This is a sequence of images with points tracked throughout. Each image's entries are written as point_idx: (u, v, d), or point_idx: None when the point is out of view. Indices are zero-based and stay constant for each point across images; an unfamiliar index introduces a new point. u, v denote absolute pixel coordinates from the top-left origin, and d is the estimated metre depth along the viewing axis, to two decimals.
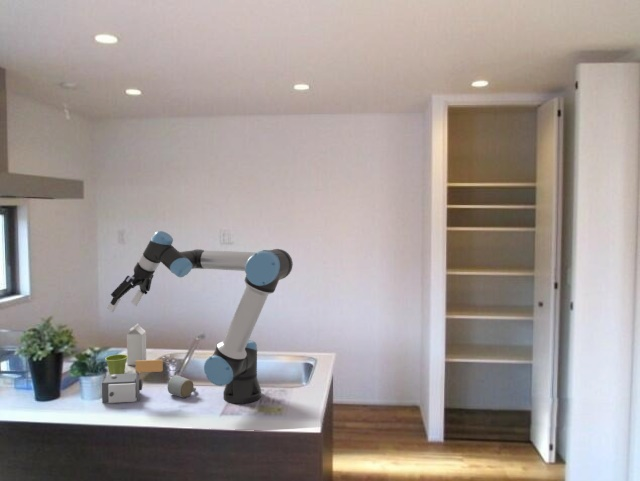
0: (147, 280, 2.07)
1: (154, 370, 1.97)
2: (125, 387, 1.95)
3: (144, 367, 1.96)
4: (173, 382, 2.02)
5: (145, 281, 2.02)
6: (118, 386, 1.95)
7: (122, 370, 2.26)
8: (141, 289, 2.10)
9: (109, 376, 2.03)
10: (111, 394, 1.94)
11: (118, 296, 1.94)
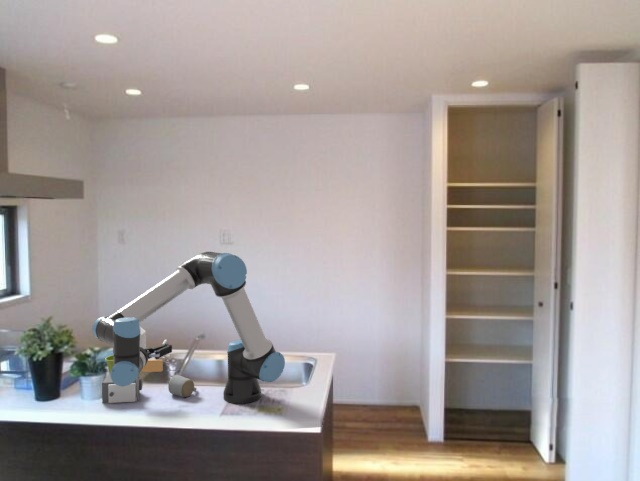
0: None
1: (154, 370, 1.97)
2: (125, 387, 1.95)
3: (144, 367, 1.96)
4: (174, 382, 2.02)
5: None
6: (118, 386, 1.95)
7: None
8: None
9: (109, 376, 2.03)
10: (111, 394, 1.94)
11: (167, 345, 1.77)
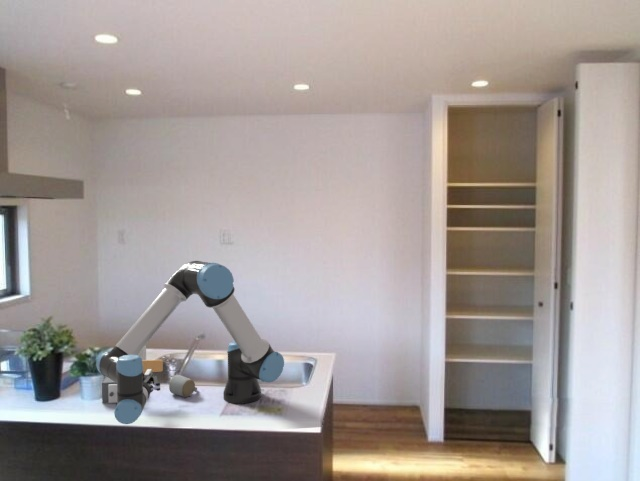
0: None
1: (154, 370, 1.97)
2: None
3: (144, 367, 1.96)
4: (175, 381, 2.03)
5: None
6: None
7: None
8: (143, 380, 1.82)
9: None
10: (111, 394, 1.94)
11: (153, 376, 1.81)
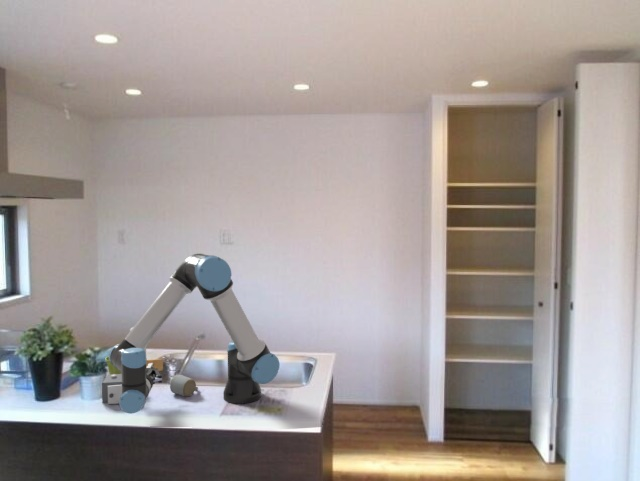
0: None
1: None
2: None
3: None
4: (176, 381, 2.03)
5: None
6: (118, 387, 1.94)
7: None
8: (146, 373, 1.90)
9: (109, 376, 2.03)
10: (111, 395, 1.92)
11: (154, 369, 1.89)
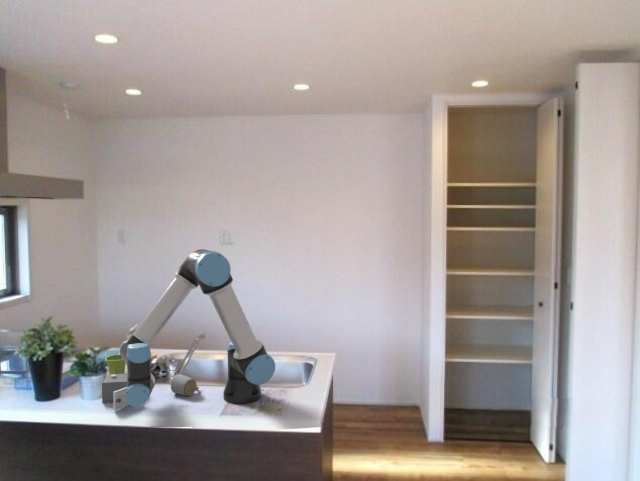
0: None
1: None
2: None
3: None
4: (176, 381, 2.03)
5: None
6: (123, 391, 1.90)
7: (122, 370, 2.26)
8: (150, 368, 1.95)
9: (109, 376, 2.03)
10: (119, 400, 1.88)
11: (159, 364, 1.94)
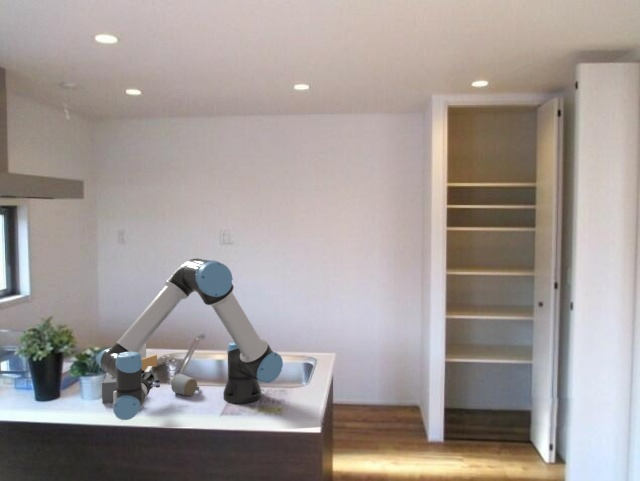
0: None
1: None
2: None
3: (143, 365, 1.98)
4: (177, 381, 2.04)
5: None
6: None
7: None
8: (144, 377, 1.84)
9: (109, 376, 2.03)
10: None
11: (153, 373, 1.83)
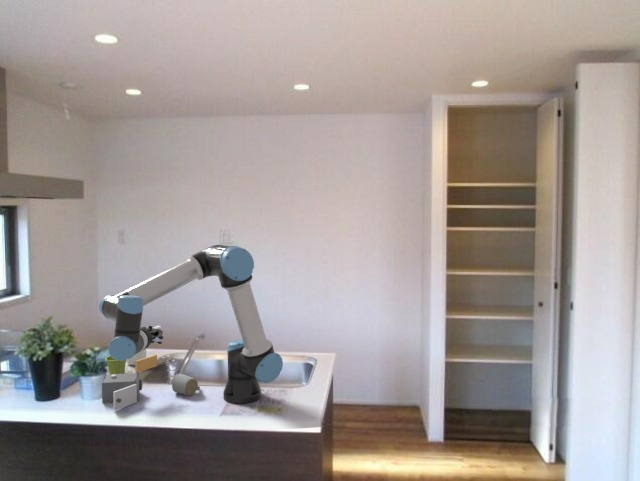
0: None
1: (151, 366, 2.01)
2: (128, 390, 1.92)
3: (143, 365, 1.98)
4: (177, 380, 2.04)
5: None
6: (123, 391, 1.90)
7: (122, 370, 2.26)
8: None
9: (109, 376, 2.03)
10: (119, 400, 1.88)
11: (159, 331, 1.82)
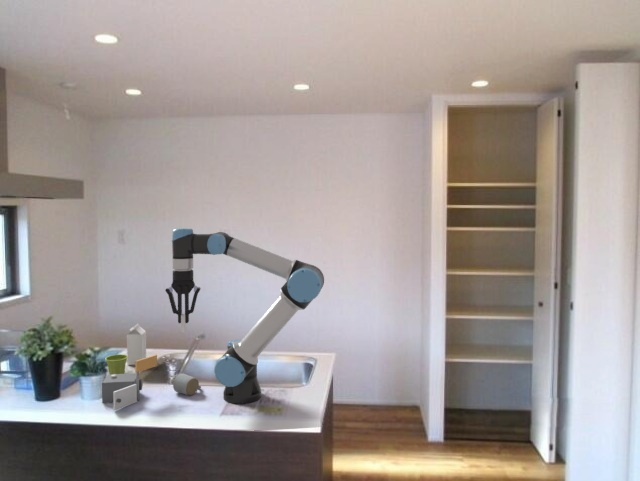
0: None
1: (151, 366, 2.01)
2: (128, 390, 1.92)
3: (143, 365, 1.98)
4: (179, 380, 2.04)
5: (187, 289, 1.88)
6: (123, 391, 1.90)
7: (122, 370, 2.26)
8: None
9: (109, 376, 2.03)
10: (119, 400, 1.88)
11: (175, 309, 1.88)
